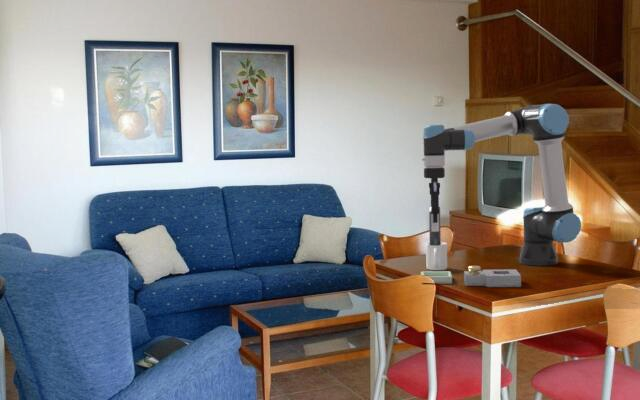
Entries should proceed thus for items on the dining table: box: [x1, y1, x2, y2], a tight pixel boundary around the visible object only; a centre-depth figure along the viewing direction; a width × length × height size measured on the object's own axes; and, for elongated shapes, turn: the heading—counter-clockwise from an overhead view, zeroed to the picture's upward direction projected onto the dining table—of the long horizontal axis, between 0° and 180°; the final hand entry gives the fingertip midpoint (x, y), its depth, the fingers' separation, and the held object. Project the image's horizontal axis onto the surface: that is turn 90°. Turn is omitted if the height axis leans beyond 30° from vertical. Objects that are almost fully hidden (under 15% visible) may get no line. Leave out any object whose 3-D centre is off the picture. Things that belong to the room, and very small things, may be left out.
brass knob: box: [467, 265, 482, 274], centre depth 275 cm, size 4×4×5 cm
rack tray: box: [420, 270, 453, 285], centre depth 283 cm, size 11×11×2 cm
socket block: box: [463, 268, 522, 288], centre depth 275 cm, size 19×12×4 cm, turn 84°
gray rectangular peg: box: [428, 206, 442, 246], centre depth 281 cm, size 4×4×14 cm
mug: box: [425, 241, 448, 271], centre depth 305 cm, size 12×8×10 cm
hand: (435, 230), depth 281 cm, fingers closed on gray rectangular peg, 4 cm apart
